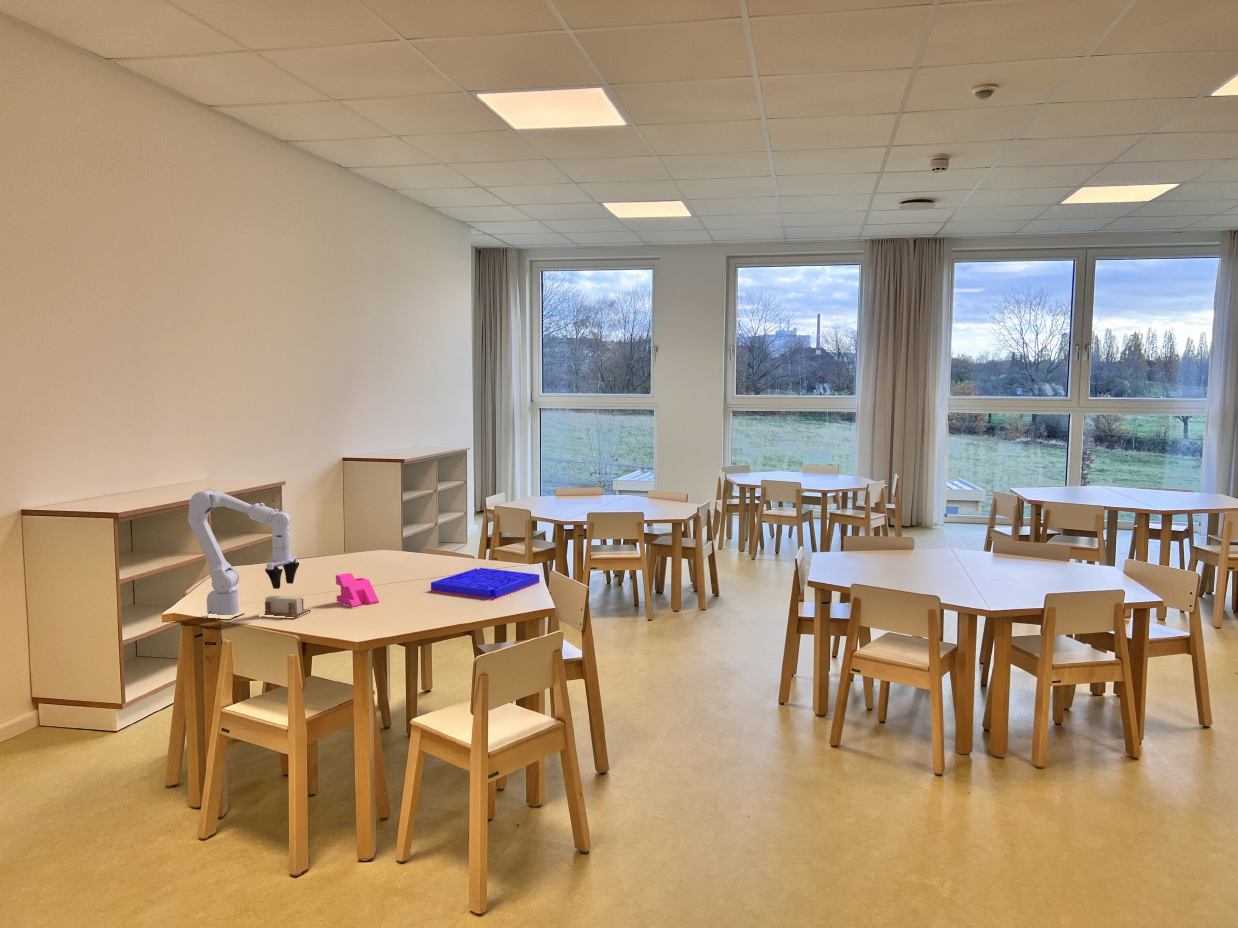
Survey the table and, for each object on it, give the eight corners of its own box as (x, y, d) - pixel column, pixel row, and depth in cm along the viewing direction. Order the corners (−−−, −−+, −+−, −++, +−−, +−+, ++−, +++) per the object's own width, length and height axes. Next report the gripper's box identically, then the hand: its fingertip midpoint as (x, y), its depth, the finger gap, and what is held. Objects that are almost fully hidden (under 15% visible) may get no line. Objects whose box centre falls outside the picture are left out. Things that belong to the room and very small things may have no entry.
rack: (258, 616, 283) (257, 602, 282) (274, 610, 292) (274, 596, 291) (295, 618, 280) (294, 604, 279) (310, 612, 289) (309, 597, 288)
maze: (431, 592, 318) (430, 582, 318) (479, 576, 344) (478, 567, 344) (494, 601, 304) (494, 590, 304) (539, 584, 330) (539, 574, 330)
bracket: (336, 602, 302) (335, 574, 301) (362, 597, 309) (361, 570, 308) (352, 608, 294) (351, 580, 293) (378, 603, 301) (378, 575, 300)
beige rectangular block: (266, 611, 286) (265, 597, 285) (271, 609, 288) (270, 595, 288) (297, 613, 283) (296, 599, 283) (302, 611, 286) (301, 597, 285)
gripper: (279, 551, 277) (280, 591, 278) (304, 543, 291) (305, 581, 292) (260, 550, 278) (262, 590, 279) (286, 542, 292) (288, 580, 293)
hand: (283, 585), depth 286 cm, fingers open, 7 cm apart
